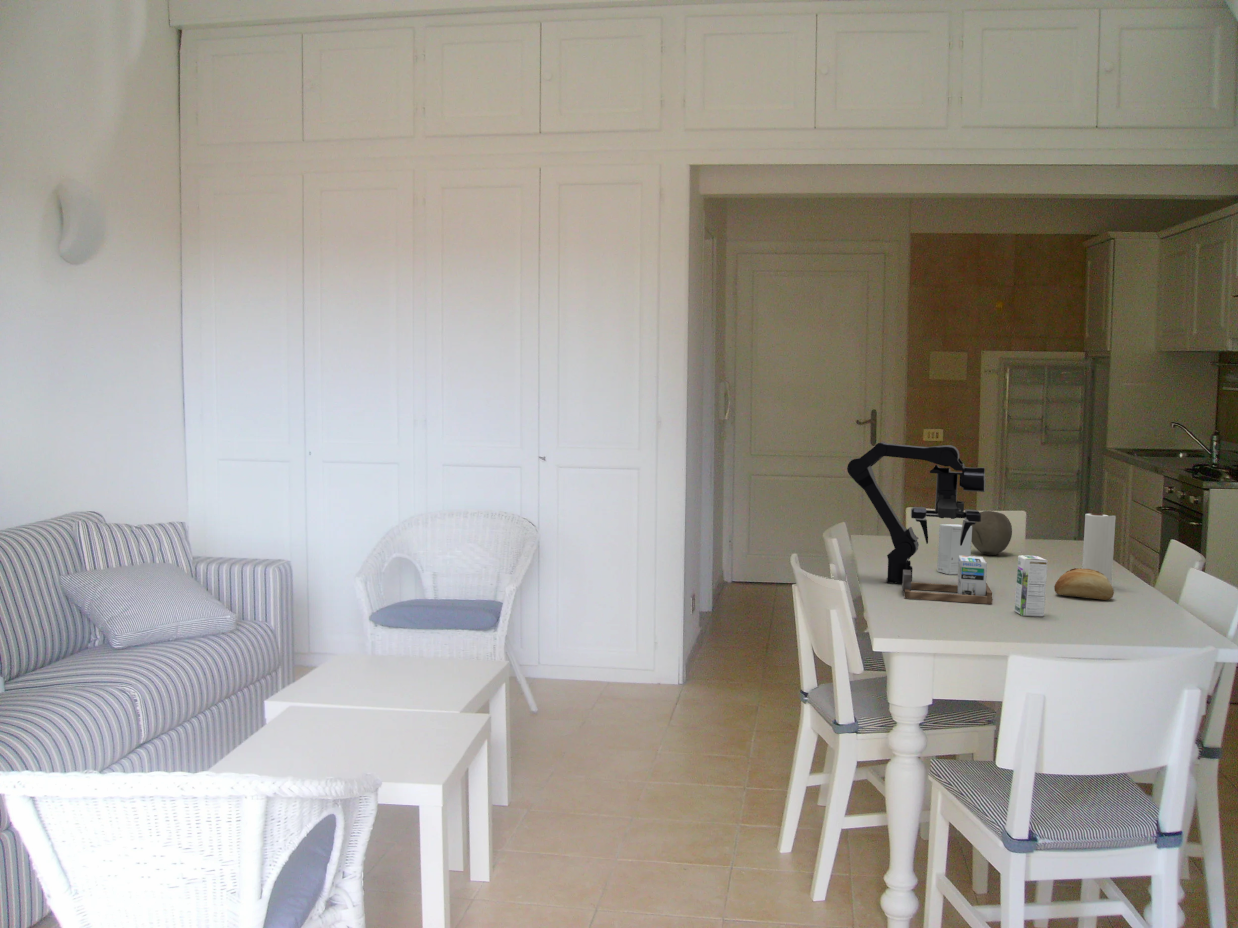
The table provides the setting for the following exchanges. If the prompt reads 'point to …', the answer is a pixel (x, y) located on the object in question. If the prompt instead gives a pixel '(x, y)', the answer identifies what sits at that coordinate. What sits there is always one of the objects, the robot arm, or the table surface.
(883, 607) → the table surface
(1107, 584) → the bread roll
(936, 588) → the brown rectangular frame
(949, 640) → the table surface
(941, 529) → the skincare box
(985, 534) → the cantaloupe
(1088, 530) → the paper towel roll
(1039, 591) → the syrup box
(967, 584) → the light bulb box
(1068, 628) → the table surface
